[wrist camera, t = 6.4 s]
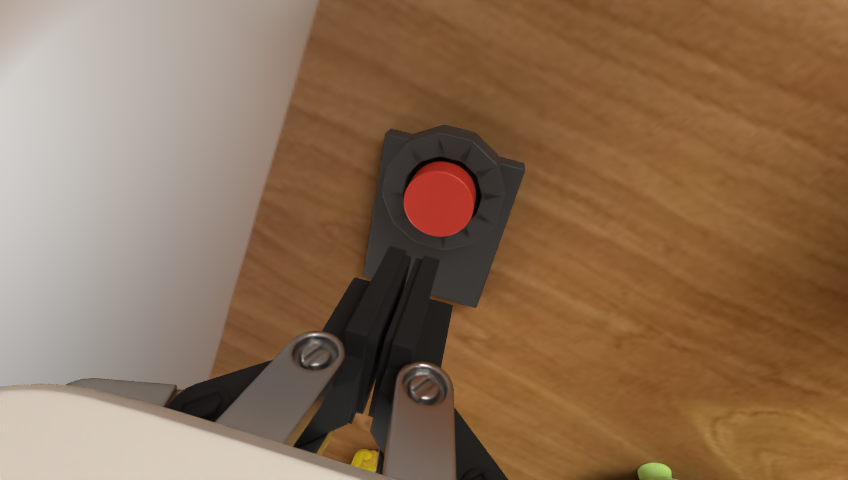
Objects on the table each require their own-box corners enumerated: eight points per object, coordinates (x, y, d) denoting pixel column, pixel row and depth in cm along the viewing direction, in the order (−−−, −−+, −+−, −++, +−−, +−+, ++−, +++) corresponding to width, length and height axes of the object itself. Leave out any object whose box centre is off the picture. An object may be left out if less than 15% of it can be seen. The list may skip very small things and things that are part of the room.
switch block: (394, 106, 22) (379, 116, 20) (532, 141, 22) (535, 157, 19) (368, 267, 28) (353, 291, 25) (477, 298, 27) (474, 326, 25)
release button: (417, 153, 20) (410, 163, 19) (484, 170, 20) (482, 182, 19) (405, 213, 22) (397, 227, 21) (466, 230, 22) (463, 244, 21)
